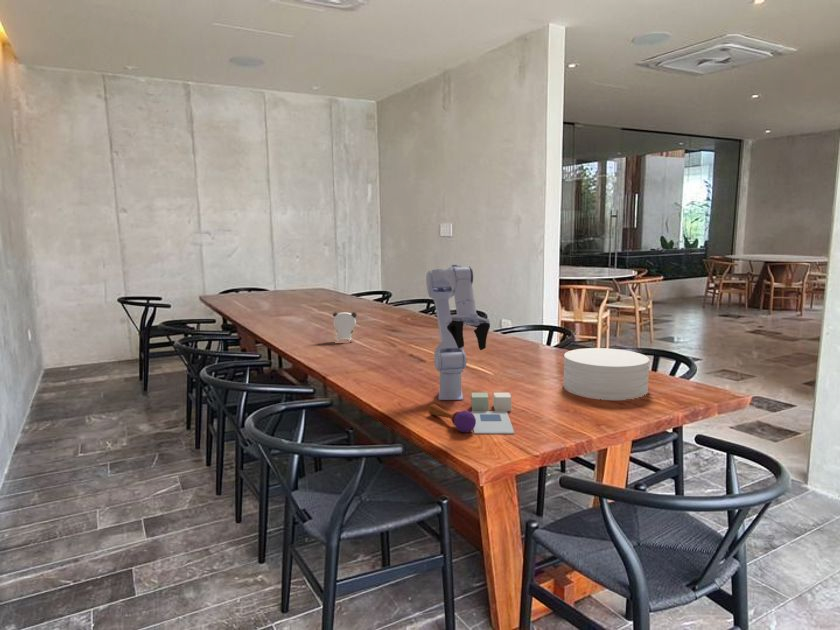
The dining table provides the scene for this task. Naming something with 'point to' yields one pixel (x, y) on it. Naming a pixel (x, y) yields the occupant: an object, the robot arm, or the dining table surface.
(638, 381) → the plate stack
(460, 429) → the kendama
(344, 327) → the panda figurine
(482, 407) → the block base
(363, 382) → the dining table surface
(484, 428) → the grey base plate
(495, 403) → the block top
